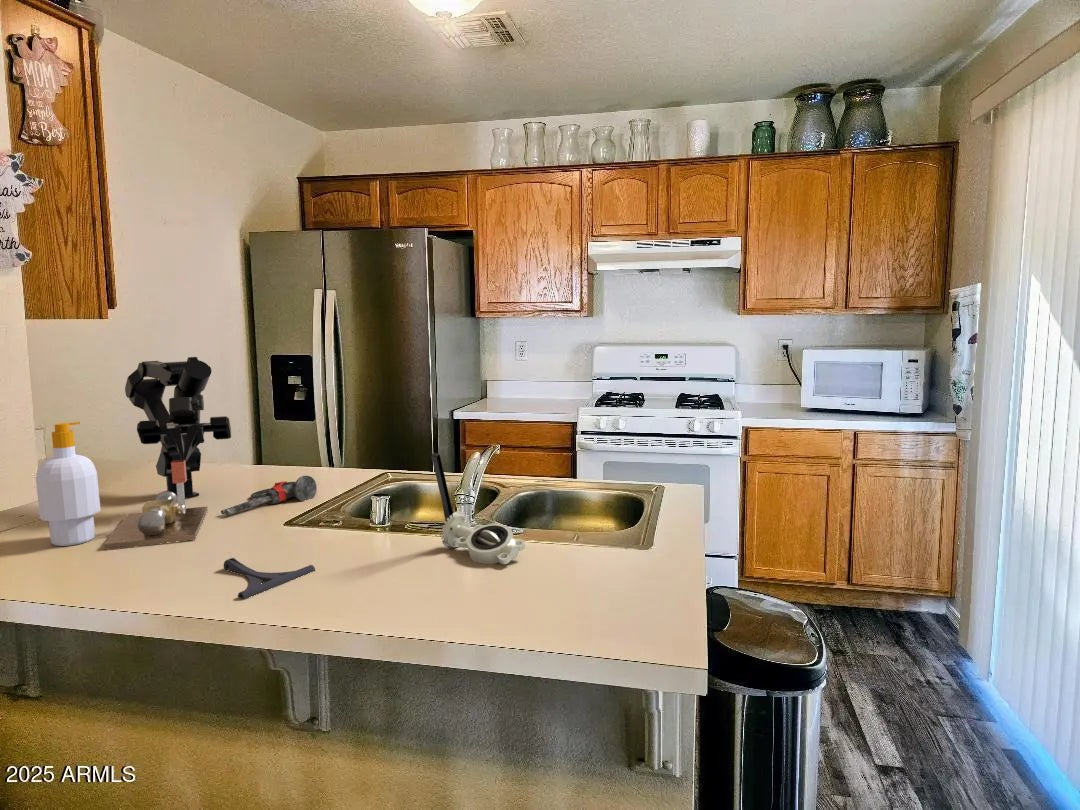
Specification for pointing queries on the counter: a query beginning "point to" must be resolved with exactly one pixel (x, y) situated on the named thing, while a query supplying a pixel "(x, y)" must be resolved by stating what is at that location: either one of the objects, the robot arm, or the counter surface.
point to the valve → (279, 494)
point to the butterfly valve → (474, 530)
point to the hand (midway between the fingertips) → (184, 460)
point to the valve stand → (158, 524)
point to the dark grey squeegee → (263, 577)
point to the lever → (179, 482)
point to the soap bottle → (67, 491)
